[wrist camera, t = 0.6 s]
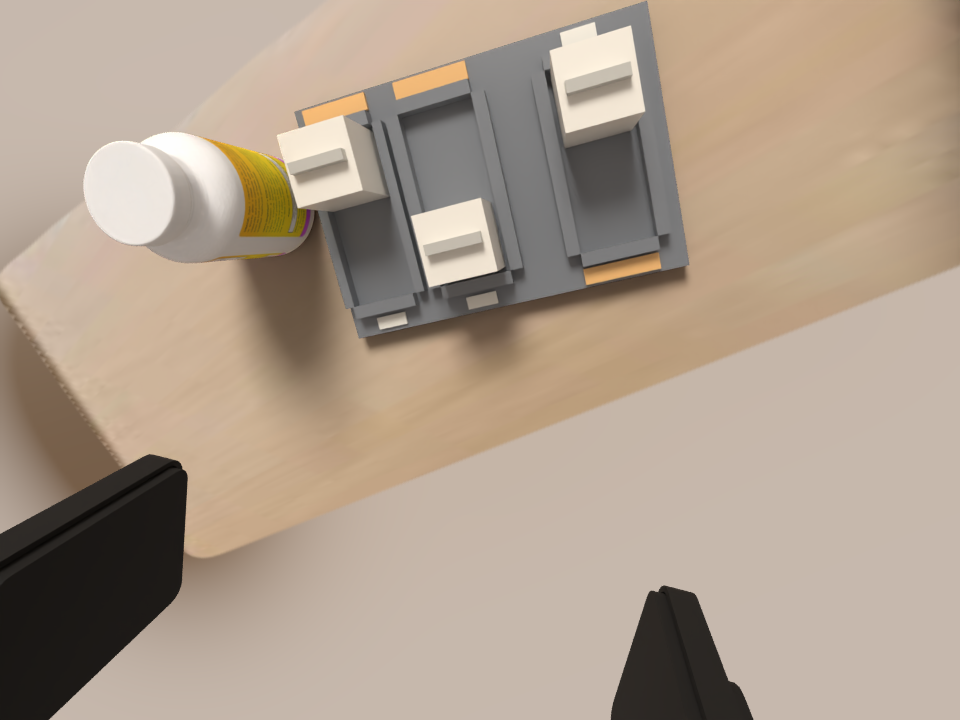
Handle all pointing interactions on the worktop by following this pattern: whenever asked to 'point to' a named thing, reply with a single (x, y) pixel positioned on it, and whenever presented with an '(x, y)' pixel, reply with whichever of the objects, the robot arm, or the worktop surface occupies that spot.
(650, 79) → the switch board
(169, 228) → the supplement bottle
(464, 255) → the white block with ridge
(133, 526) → the robot arm
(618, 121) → the white switch slider block
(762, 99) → the worktop surface
